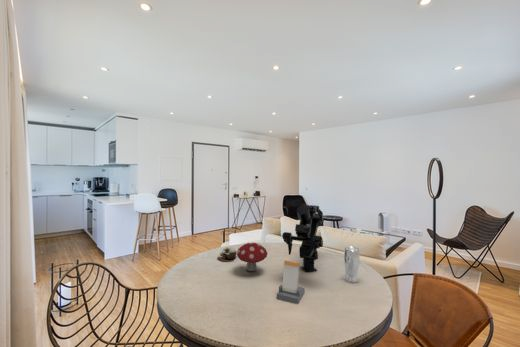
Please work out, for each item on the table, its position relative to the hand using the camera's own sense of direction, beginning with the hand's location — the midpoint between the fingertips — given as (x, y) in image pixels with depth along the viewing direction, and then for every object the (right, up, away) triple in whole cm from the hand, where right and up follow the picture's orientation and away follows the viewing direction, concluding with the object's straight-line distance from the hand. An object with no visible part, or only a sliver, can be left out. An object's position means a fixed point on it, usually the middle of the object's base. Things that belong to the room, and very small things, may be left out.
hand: (299, 255), depth 110 cm
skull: (-37, -14, +34) cm, 52 cm away
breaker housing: (-5, -14, -9) cm, 17 cm away
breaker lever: (-6, -11, -11) cm, 16 cm away
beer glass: (+26, -14, +7) cm, 30 cm away
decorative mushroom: (-22, -14, +15) cm, 30 cm away
